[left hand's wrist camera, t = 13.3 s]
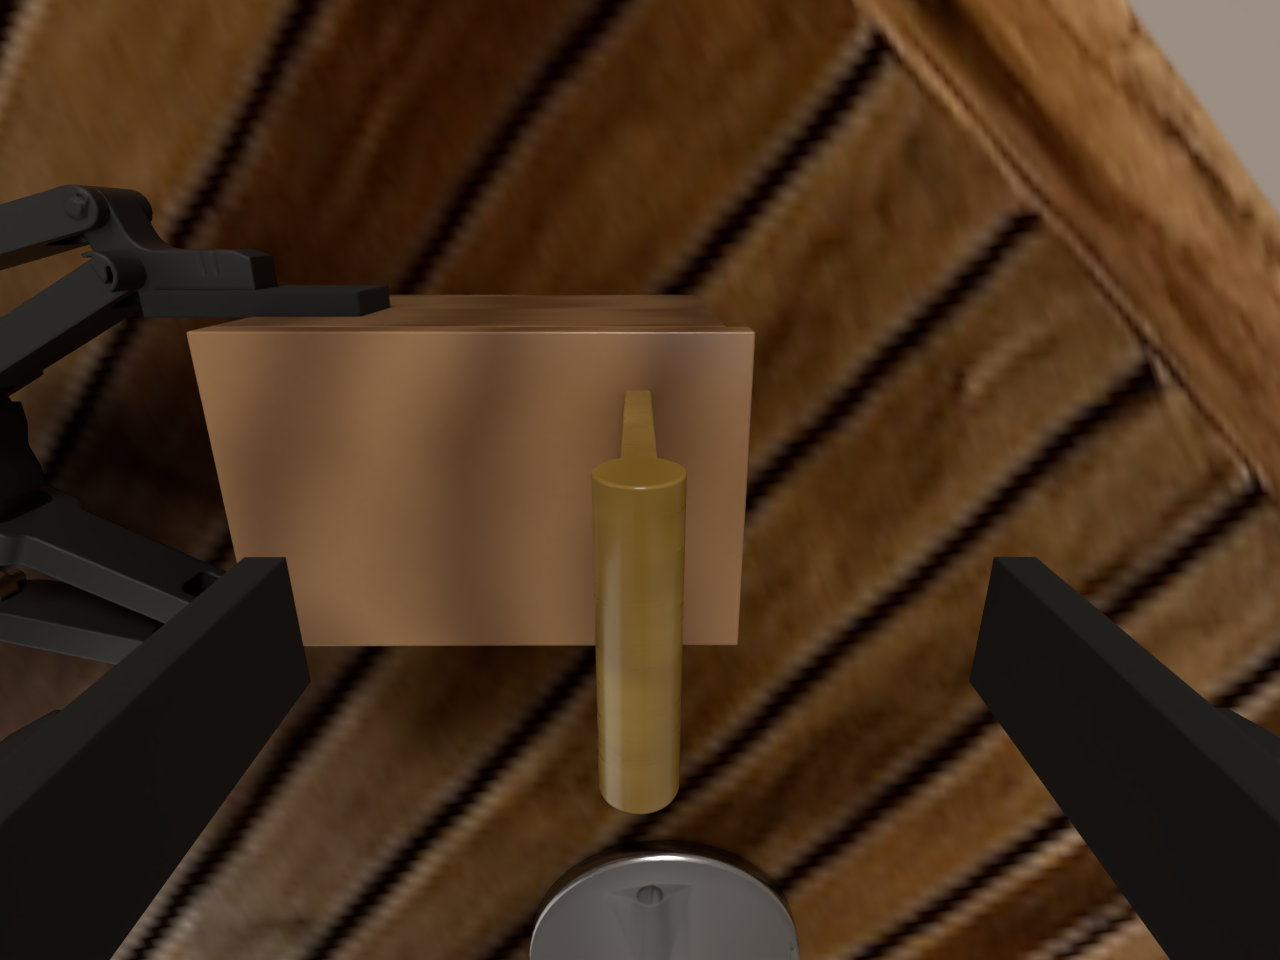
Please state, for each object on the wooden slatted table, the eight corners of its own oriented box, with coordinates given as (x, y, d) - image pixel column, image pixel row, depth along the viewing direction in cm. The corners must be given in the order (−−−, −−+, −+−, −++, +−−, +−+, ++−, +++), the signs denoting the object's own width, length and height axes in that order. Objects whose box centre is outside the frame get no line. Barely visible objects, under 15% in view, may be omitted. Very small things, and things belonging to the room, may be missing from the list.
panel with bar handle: (750, 326, 19) (840, 402, 10) (733, 627, 22) (793, 869, 14) (207, 326, 19) (-134, 402, 10) (270, 628, 22) (48, 872, 14)
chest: (696, 294, 28) (726, 326, 19) (690, 509, 31) (713, 627, 22) (351, 294, 28) (209, 326, 19) (380, 509, 31) (271, 628, 22)
